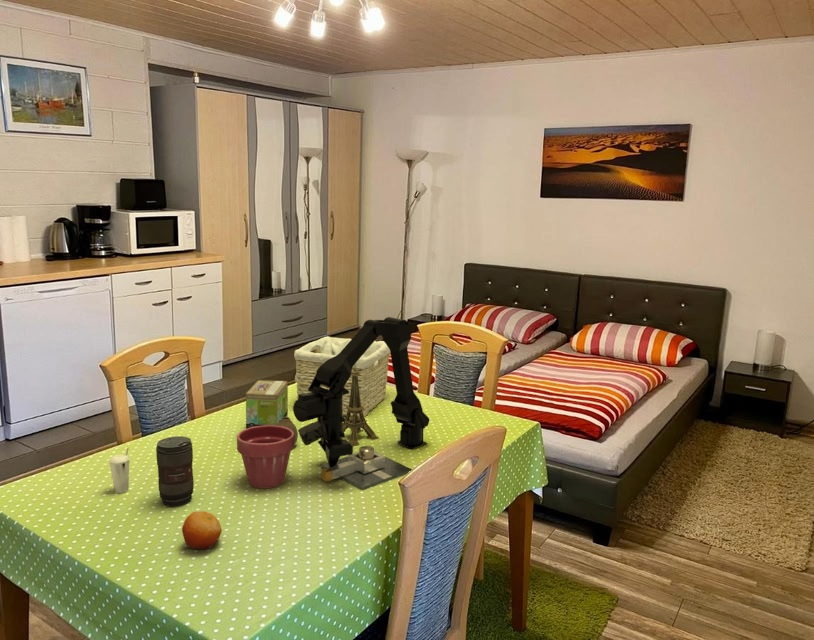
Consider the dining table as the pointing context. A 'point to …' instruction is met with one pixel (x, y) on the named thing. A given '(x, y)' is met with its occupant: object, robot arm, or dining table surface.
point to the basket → (368, 366)
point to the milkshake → (120, 472)
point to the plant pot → (265, 454)
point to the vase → (289, 426)
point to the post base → (373, 477)
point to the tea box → (266, 403)
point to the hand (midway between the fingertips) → (331, 469)
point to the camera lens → (175, 470)
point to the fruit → (201, 530)
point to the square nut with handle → (353, 466)
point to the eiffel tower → (356, 408)
